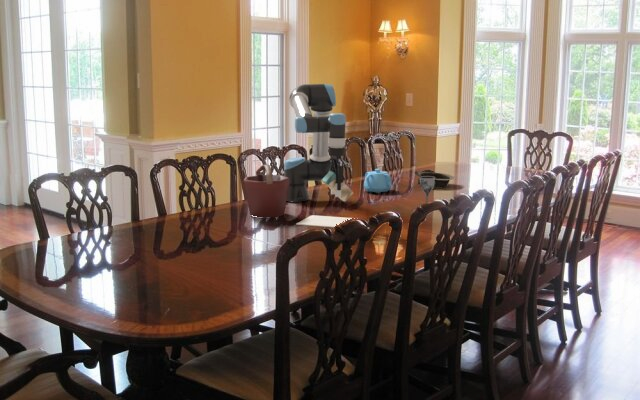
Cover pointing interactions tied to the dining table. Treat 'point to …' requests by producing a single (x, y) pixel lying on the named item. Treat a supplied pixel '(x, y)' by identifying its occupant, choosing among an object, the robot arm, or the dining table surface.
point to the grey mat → (322, 221)
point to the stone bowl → (436, 178)
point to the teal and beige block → (330, 182)
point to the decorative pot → (377, 181)
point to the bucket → (266, 193)
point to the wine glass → (427, 184)
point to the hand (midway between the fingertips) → (335, 195)
